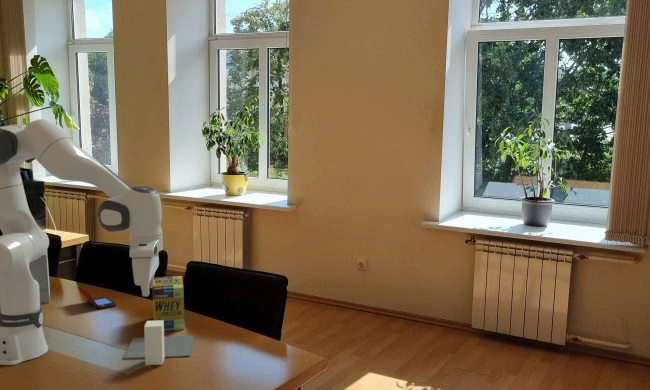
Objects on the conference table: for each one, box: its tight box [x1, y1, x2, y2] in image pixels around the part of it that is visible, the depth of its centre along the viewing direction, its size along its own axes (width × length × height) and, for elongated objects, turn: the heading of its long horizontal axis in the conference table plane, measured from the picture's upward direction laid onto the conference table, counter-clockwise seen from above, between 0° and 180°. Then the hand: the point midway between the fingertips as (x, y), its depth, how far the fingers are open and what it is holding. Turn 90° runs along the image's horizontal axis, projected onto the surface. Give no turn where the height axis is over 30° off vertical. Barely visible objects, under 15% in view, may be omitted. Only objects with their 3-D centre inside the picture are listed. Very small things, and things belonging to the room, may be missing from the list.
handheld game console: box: [78, 286, 117, 311], centre depth 233 cm, size 12×11×7 cm
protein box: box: [152, 275, 185, 332], centre depth 213 cm, size 10×15×16 cm
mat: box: [123, 335, 195, 360], centre depth 193 cm, size 20×16×1 cm
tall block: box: [143, 320, 166, 367], centre depth 181 cm, size 5×5×12 cm
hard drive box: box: [29, 249, 51, 305], centre depth 238 cm, size 16×8×20 cm, turn 25°
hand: (148, 291), depth 170 cm, fingers open, 6 cm apart
